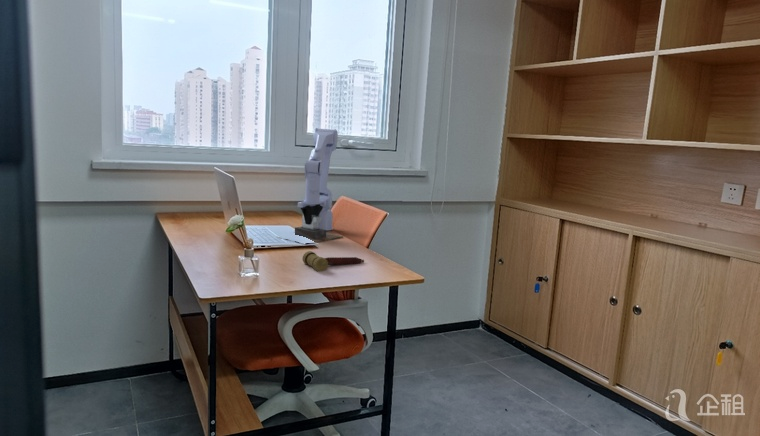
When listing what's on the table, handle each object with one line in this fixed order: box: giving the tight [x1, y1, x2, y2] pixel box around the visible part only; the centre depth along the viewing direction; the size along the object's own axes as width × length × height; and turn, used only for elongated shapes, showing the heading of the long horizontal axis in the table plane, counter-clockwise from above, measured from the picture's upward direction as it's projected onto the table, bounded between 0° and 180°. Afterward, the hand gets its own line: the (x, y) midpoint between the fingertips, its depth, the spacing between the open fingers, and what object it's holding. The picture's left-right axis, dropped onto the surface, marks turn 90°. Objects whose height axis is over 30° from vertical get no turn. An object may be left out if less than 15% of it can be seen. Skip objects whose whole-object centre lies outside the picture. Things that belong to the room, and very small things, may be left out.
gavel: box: [302, 250, 365, 272], centre depth 181 cm, size 21×5×10 cm
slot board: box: [294, 226, 344, 243], centre depth 220 cm, size 22×16×4 cm
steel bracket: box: [301, 214, 321, 231], centre depth 219 cm, size 3×8×7 cm, turn 55°
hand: (310, 223), depth 219 cm, fingers closed on steel bracket, 3 cm apart
